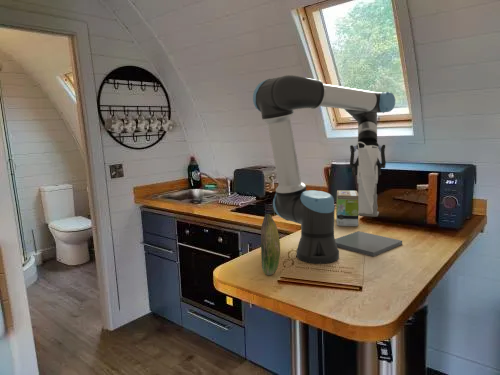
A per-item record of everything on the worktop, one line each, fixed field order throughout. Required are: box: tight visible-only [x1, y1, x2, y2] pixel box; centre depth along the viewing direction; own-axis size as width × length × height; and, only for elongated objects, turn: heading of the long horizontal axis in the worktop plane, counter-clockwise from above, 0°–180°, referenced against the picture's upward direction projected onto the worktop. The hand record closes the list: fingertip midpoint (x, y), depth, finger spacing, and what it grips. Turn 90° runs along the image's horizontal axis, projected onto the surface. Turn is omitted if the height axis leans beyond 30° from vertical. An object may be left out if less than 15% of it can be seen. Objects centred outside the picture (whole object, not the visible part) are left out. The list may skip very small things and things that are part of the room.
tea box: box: [335, 190, 359, 227], centre depth 185 cm, size 15×10×15 cm, turn 168°
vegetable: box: [260, 213, 281, 276], centre depth 122 cm, size 6×6×20 cm
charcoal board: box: [335, 230, 403, 257], centre depth 152 cm, size 20×20×2 cm
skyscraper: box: [356, 141, 380, 218], centre depth 148 cm, size 8×8×28 cm
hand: (367, 181), depth 145 cm, fingers closed on skyscraper, 6 cm apart
